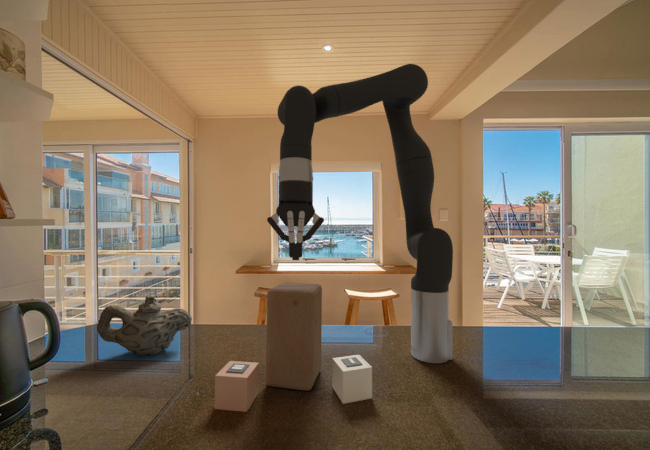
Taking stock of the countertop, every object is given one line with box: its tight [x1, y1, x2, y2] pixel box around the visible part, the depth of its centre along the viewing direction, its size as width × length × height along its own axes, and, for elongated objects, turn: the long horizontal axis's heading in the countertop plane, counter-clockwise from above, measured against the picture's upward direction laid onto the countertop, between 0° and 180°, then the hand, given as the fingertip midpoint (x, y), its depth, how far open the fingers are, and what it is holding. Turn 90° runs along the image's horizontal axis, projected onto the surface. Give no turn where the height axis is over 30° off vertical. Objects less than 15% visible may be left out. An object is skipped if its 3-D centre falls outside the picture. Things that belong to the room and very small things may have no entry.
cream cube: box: [331, 354, 373, 405], centre depth 57 cm, size 6×6×6 cm
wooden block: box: [265, 281, 323, 392], centre depth 63 cm, size 10×10×20 cm
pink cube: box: [214, 360, 260, 413], centre depth 54 cm, size 6×6×6 cm
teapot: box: [96, 295, 193, 356], centre depth 75 cm, size 21×12×15 cm, turn 115°
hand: (295, 259), depth 63 cm, fingers closed
